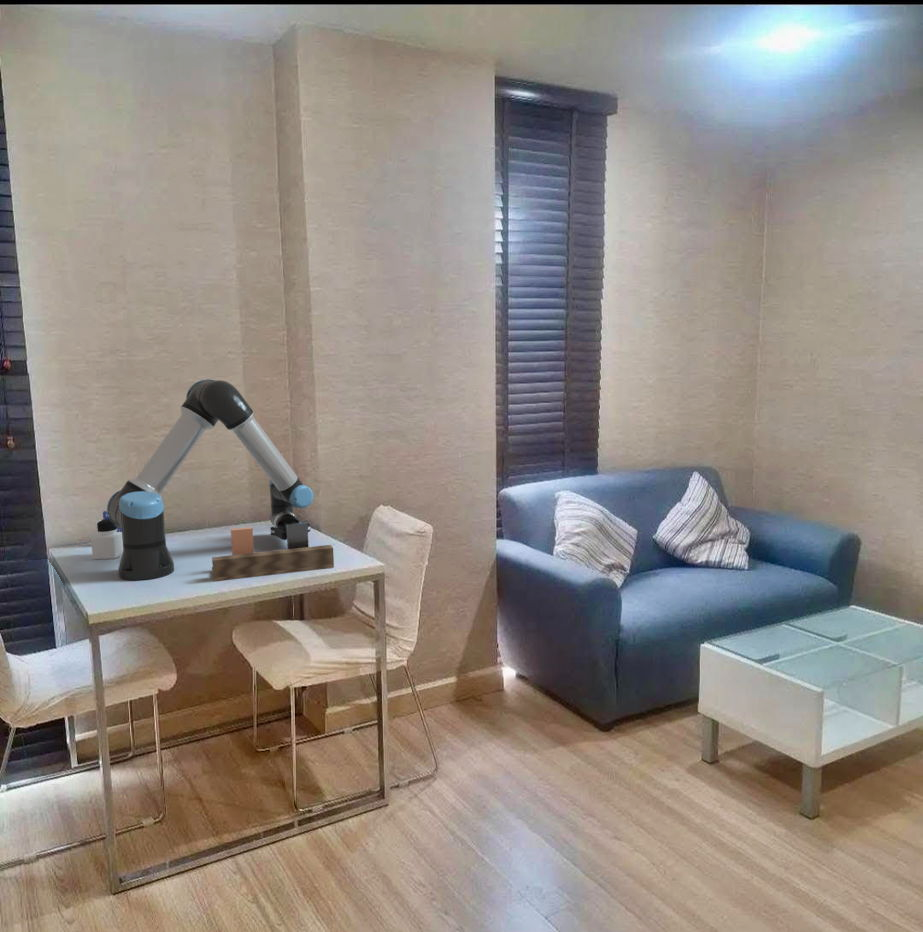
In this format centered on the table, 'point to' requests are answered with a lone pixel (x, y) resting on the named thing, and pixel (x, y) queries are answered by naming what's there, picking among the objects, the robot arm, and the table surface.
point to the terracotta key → (242, 541)
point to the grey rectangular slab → (297, 535)
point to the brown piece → (272, 562)
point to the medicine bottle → (106, 541)
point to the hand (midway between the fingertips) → (298, 540)
